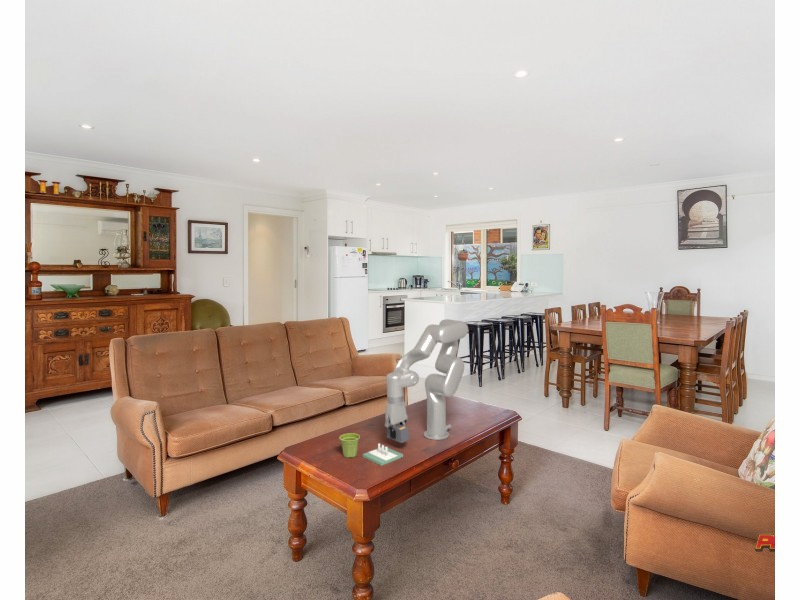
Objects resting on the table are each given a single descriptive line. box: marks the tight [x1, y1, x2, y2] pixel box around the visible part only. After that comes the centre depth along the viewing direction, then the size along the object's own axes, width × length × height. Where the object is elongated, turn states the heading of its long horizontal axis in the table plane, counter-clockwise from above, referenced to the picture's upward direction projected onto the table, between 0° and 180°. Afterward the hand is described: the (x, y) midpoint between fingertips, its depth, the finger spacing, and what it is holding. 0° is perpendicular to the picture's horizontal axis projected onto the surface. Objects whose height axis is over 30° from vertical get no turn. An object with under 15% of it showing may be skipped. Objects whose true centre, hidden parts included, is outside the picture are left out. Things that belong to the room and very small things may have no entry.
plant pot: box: [338, 432, 361, 459], centre depth 208 cm, size 9×9×9 cm
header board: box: [362, 442, 404, 467], centre depth 207 cm, size 13×13×5 cm
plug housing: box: [385, 423, 410, 444], centre depth 216 cm, size 5×10×6 cm, turn 44°
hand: (397, 435), depth 217 cm, fingers closed on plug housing, 5 cm apart
